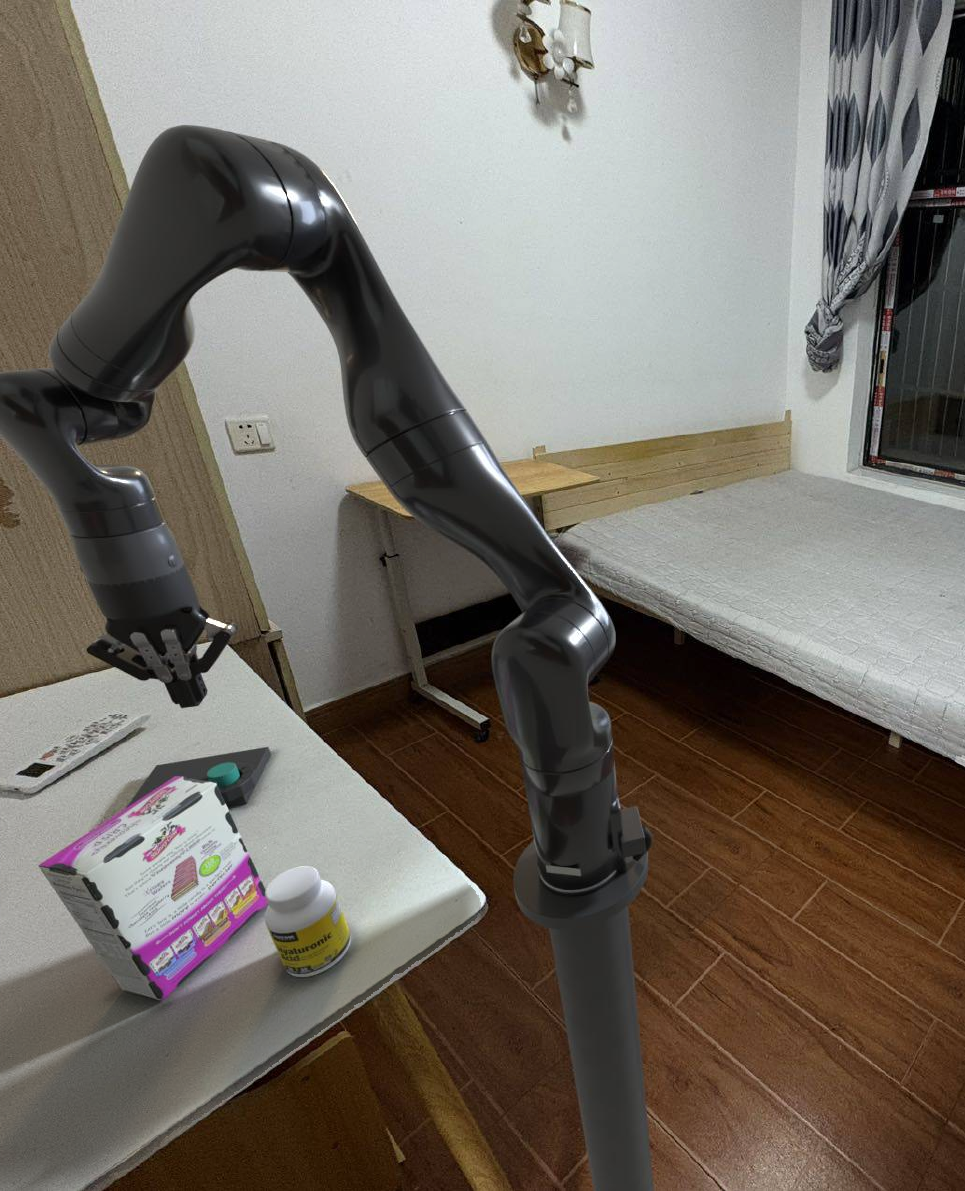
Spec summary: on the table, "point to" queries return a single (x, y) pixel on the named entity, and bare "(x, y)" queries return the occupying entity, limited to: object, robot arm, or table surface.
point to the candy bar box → (159, 885)
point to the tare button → (223, 774)
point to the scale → (233, 794)
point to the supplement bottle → (306, 921)
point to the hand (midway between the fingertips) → (192, 703)
